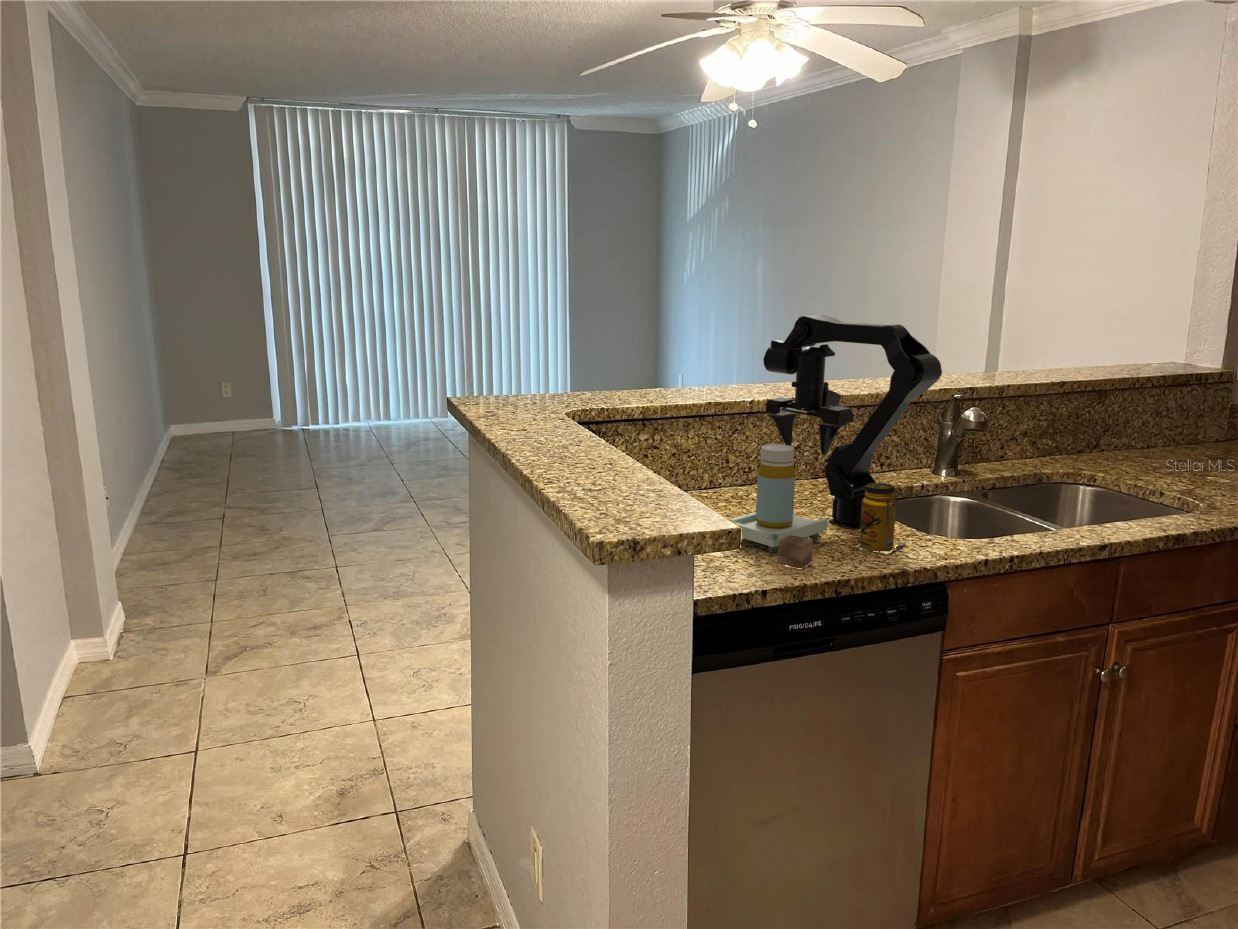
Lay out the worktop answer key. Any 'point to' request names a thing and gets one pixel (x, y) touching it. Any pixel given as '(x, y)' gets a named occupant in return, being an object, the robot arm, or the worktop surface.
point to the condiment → (878, 518)
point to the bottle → (775, 486)
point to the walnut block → (795, 551)
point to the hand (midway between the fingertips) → (806, 451)
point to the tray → (779, 530)
